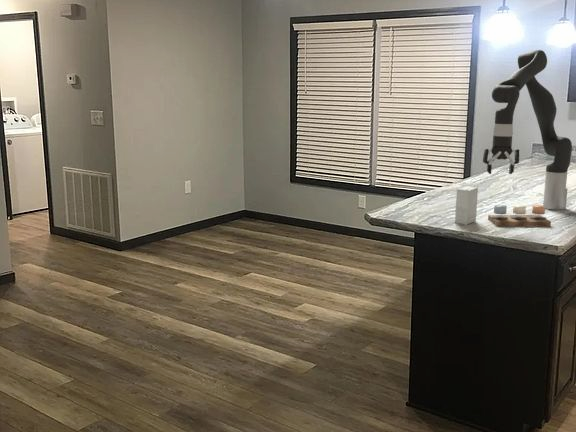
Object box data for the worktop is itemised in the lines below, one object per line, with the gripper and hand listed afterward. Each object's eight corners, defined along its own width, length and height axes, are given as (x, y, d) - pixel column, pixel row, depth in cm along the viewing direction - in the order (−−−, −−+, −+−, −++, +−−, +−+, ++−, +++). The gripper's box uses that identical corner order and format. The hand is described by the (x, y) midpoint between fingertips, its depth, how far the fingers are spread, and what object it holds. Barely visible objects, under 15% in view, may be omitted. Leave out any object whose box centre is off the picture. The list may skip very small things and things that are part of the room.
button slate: (504, 211, 279) (504, 204, 278) (507, 214, 274) (508, 207, 273) (492, 211, 279) (492, 204, 278) (495, 214, 274) (496, 207, 273)
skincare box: (463, 219, 283) (465, 185, 280) (476, 221, 279) (478, 187, 276) (454, 222, 277) (455, 188, 274) (467, 225, 273) (469, 189, 270)
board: (539, 219, 283) (540, 214, 282) (550, 226, 270) (551, 220, 270) (487, 219, 283) (487, 214, 283) (496, 226, 271) (496, 220, 270)
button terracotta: (542, 211, 278) (542, 204, 277) (546, 214, 273) (547, 207, 273) (530, 211, 278) (530, 204, 278) (534, 214, 273) (534, 207, 273)
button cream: (523, 211, 278) (523, 204, 278) (527, 214, 273) (527, 207, 273) (511, 211, 278) (511, 204, 278) (515, 214, 274) (515, 207, 273)
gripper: (517, 134, 274) (514, 172, 277) (483, 133, 275) (480, 172, 278) (523, 135, 266) (519, 175, 270) (487, 135, 267) (484, 174, 271)
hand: (500, 173), depth 274 cm, fingers open, 8 cm apart
